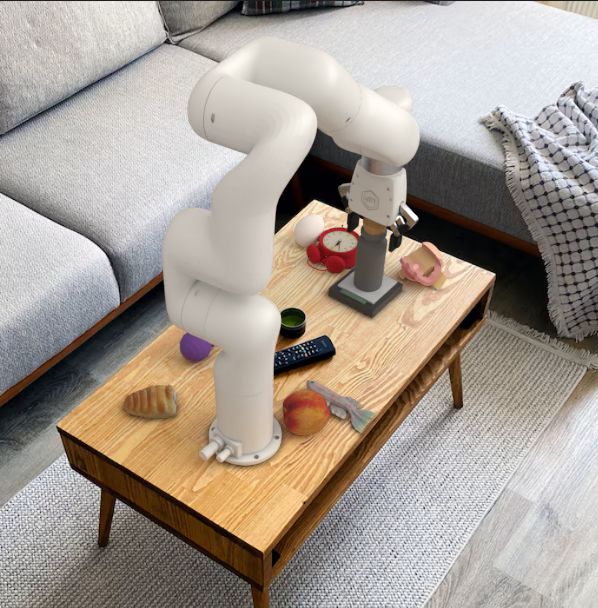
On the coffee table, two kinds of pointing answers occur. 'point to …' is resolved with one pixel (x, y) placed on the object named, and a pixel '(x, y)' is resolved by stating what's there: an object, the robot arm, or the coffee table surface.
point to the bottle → (370, 256)
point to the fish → (342, 405)
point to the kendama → (194, 348)
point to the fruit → (305, 412)
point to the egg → (309, 230)
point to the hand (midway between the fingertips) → (373, 238)
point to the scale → (364, 294)
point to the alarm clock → (334, 250)
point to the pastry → (152, 402)
